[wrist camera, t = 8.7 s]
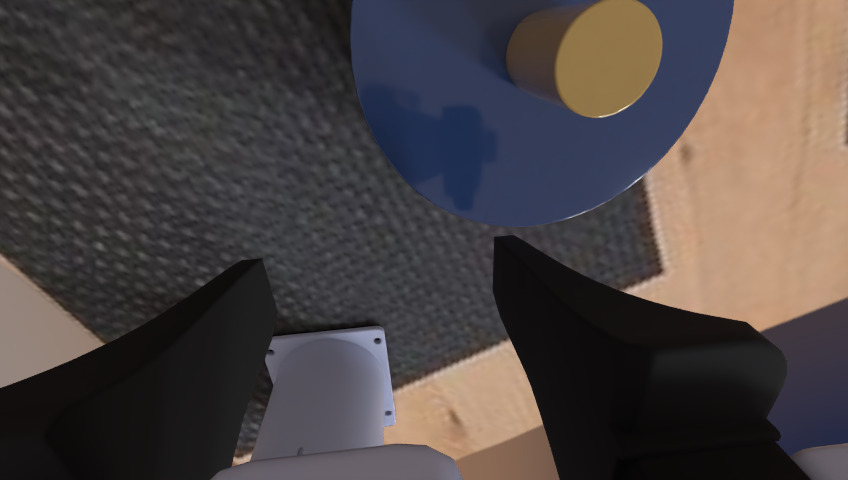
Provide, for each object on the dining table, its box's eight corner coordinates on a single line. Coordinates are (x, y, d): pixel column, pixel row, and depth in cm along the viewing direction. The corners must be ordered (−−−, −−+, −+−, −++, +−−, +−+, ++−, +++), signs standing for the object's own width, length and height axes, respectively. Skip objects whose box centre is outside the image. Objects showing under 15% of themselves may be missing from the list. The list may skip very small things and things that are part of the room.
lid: (664, 201, 17) (771, 265, 13) (374, 228, 17) (371, 306, 12) (761, -204, 11) (1031, -374, 7) (321, -188, 11) (272, -365, 6)
